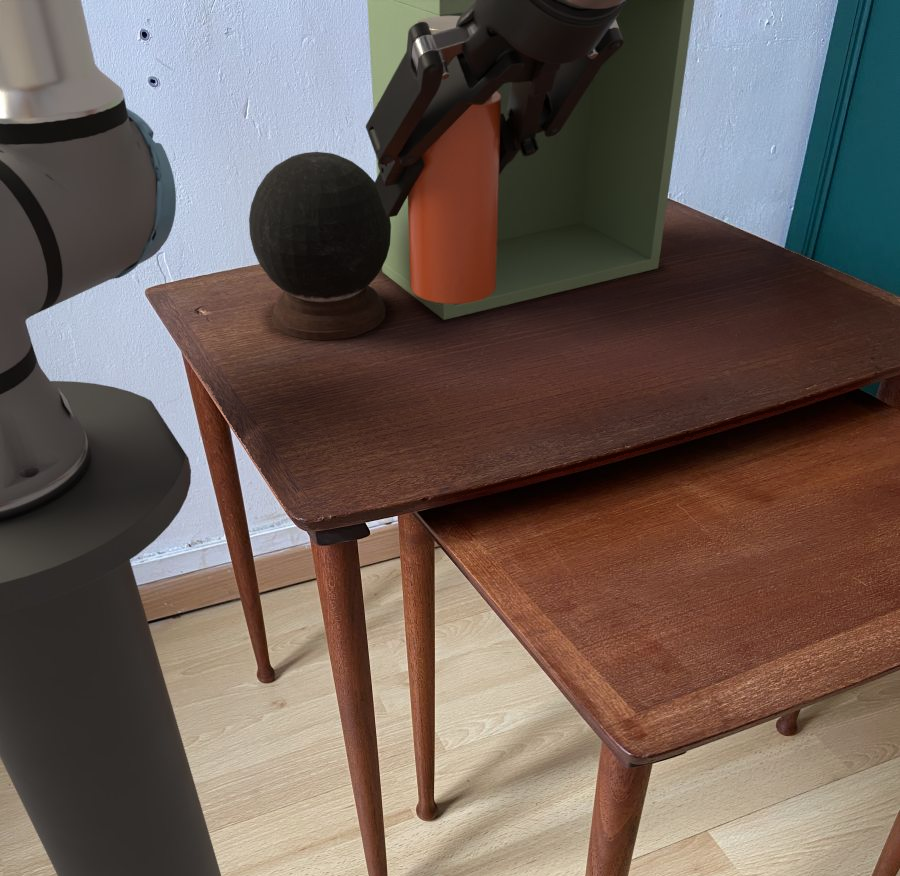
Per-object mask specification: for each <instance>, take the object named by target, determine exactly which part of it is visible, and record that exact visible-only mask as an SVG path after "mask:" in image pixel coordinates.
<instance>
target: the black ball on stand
mask: <svg viewBox="0 0 900 876" xmlns="http://www.w3.org/2000/svg"><path fill="white" fill-rule="evenodd" d="M250 204H251V205H250V210H249V215H248V216H249V217H248V225H249V238H250V241H251V246H252V250H253V253H254V256H255V257H256V260H257V261H258V264H259V265H260V267H261V268H262V270H263V271H264V272H265V274H266V275H267V276H268V278H269V279H270V280H271V282H273V283H274V284H275V285H276V286H277V287H278V288H279V289H281V290H282V292H281V293H280V294H279V295H278V296H277V298H276V300H275V302H274V304H273V305H272V306H271V310H270V313H271V318H272V319H271V320H272V324H273V325H274V327H275V328H276V329H277V330H279V331H280V332H281V333H283V334H286V335H288V336H291V337H294V338H298V339H304V340H313V341H333V340H342V339H347V338H352V337H356V336H359V335H363V334H365V333H367V332H370V331H372V330H373V329H375V328H377V327H378V326H379V325H380V324H381V323H382V322H384V319H385V317H386V304H385V301H384V300H383V298H382V297H381V296H380V295H379V293H378V292H377V290H376V289H374V288H373V287H372V286H369V285H370V284H371V283H372V282H373V281H375V279H376V277H377V276H378V275H379V273H380V272H381V270H382V266H383V264H384V262H385V260H386V258H387V255H388V251H389V247H390V238H391V222H390V217H387V215H386V212H385V209H384V207H383V204H382V201H381V198H380V196H379V193H378V190H377V188H376V185H375V181H374V179H373V178H372V177H371V176H370V174H369V173H368V172H366V171H365V170H364V169H363V168H362V167H360V166H359V165H358V164H357V163H355V162H353V160H350V159H348V158H345V157H343V156H341V155H339V154H335V153H333V152H332V153H331V152H325V151H324V152H323V151H310V152H303V153H299V154H295V155H292V156H290V157H288V158H286V159H285V160H283V161H282V162H281V161H280V162H279V163H278V164H276V165H275V166H274V167H273V168H272V169H270V171H268V173H266V175H265V176H264V178H263V179H262V181H260V183H259V185H258V187H257V188H256V190H255V194H254V196H253V199H252V201H251V203H250Z"/></svg>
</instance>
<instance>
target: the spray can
mask: <svg viewBox="0 0 900 876" xmlns="http://www.w3.org/2000/svg"><path fill="white" fill-rule="evenodd" d="M459 18H460V16H439V17H430V18H425V19H422V20H420V21H418V22H417V23H419V22H426V23H427V24H428V25H429V28H430V31H431V33H432V34H436V33H439V32H442V31H446V30H449V29H453V28H456V24H457V21H458V19H459ZM500 122H501V95H500V94H499V93H498V92H497V91H496V92H495V93H494V94H493V95H492V96H491V97H490V98H489V99H488V100H487V101H486V102H485V103H484V104H482V105H476V104H472V105H471V106H470V107H469V108H468V109H467V110H466V111H465V112H464V113H463V114H462V115H461V116H460V117H459V118H458V119H457V120H456V121H455V122H454V123H453V125H452V126H451V127H450V128H449V129H448V130H447V131H446V132H445V133H444V134H443V135H442V136H441V137H440V138H439V139H438V140H437V141H436V142H435V143H434V144H433V145H432V146H431V147H430V148H429V149H428V150H427V151H426V152H425V153H424V154H423V155H422V159H423V162H424V165H425V166H424V168H423V170H422V172H421V173H420V175H419V177H418V179H417V180H416V182H415V184H414V186H413V187H412V189H411V191H410V193H409V195H408V220H409V251H410V283H411V290H412V291H413V293H414V294H415V295H417V296H418V297H420V298H422V299H425V300H428V301H431V302H436V303H445V304H461V303H470V302H475V301H478V300H481V299H484V298H486V297H488V296H489V295H491V294H492V293H493V292H494V290H495V288H496V262H497V227H498V192H499V157H500Z"/></svg>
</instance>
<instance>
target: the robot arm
mask: <svg viewBox="0 0 900 876" xmlns="http://www.w3.org/2000/svg"><path fill="white" fill-rule="evenodd" d="M626 3H627V0H475V2H474V3H473V4H472V5H471V6H470V7H469V8H468V9H467V10H466V11H465V12H464V13H463V14H462V15H461V16H460V18H459V19H458V21H457V24H456V28H453V29H449V30H446V31H442V32H439V33H436V34H432V33H431V31H430V28H429V25H428V24H427V23H426V22H419V23H417V24H415V25H413V26H412V27H411V28H410V29H409V31H408V40H407V51H406V53H405V55H404V57H403V59H402V60H401V62H400V64H399V66H398V68H397V70H396V71H395V73H394V75H393V77H392V79H391V80H390V82H389V84H388V86H387V88H386V90H385V91H384V93H383V95H382V97H381V99H380V101H379V102H378V104H377V106H376V108H375V110H374V111H373V112H372V113H371V115H370V117H369V118H368V121H367V122H366V124H365V129H366V132H367V134H368V138H369V140H370V143H371V145H372V148H373V151H374V154H375V158H376V157H377V159H378V168H379V170H380V172H379V175H378V177H377V176H376V179H375V181H374V182H375V185H376V188H377V190H378V193H379V196H380V198H381V201H382V204H383V207H384V209H385V212H386V215H387V217H393V216H397V214H398V213H399V211H400V209H401V207H402V206H403V204H404V202H405V200H406V198H407V197H408V195H409V193H410V191H411V189H412V187H413V186H414V184H415V182H416V180H417V179H418V177H419V175H420V173H421V172H422V170H423V168H424V166H425V165H424V162H423V159H422V155H423V154H424V153H425V152H426V151H427V150H428V149H429V148H430V147H431V146H432V145H433V144H434V143H435V142H436V141H437V140H438V139H439V138H440V137H441V136H442V135H443V134H444V133H445V132H446V131H447V130H448V129H449V128H450V127H451V126H452V125H453V123H454V122H455V121H456V120H457V119H458V118H459V117H460V116H461V115H462V114H463V113H464V112H465V111H466V110H467V109H468V108H469V107H470V106H471V105H472V104H476V105H482V104H484V103H485V102H486V101H487V100H488V99H489V98H490V97H491V96H492V95H493V94H494V93H495V92H496V91H497V90H498V89H499V88H500V87H501V86H502V85H503V84H505V83H508V82H512V84H511V89H510V95H509V101H508V106H507V114H508V117H509V118H508V120H507V121H506V119H505V116H504V114H503V113H502V114H501V122H500V157H499V175H500V173H501V172H502V170H503V169H504V168H505V166H506V165H507V164H508V163H510V162H511V161H512V160H513V159H514V157H515V156H516V154H517V153H518V152H519V150H520V149H521V152H522V155H523V156H530V155H532V154H534V153H535V152H537V151H538V149H539V147H538V145H537V142H536V139H535V137H536V134H537V133H540V132H544V134H545V136H546V137H550V136H554V135H556V134H557V133H558V132H559V131H560V130H561V129H562V127H563V126H564V124H565V122H566V121H567V119H568V118H569V116H570V115H571V113H572V111H573V110H574V108H575V107H576V105H577V104H578V102H579V100H580V99H581V97H582V96H583V94H584V93H585V91H586V90H587V88H588V86H589V85H590V83H591V82H592V80H593V79H594V77H595V75H596V74H597V72H598V71H599V69H600V68H601V66H602V65H603V64H604V63H605V62H606V61H607V60H608V59H609V58H610V57H611V56H612V55H613V54H614V53H615V52H616V51H617V50H618V49H619V48H620V47H621V46H622V45H623V43H624V41H623V38H622V35H621V33H620V30H619V27H618V24H617V21H616V18H617V17H618V15H619V14H620V12H621V11H622V9H623V8H624V6H625V5H626ZM85 16H86V15H85V12H84V7H83V3H82V0H0V522H3V521H7V520H11V519H14V518H17V517H20V516H23V515H26V514H28V513H31V512H33V511H36V510H38V509H40V508H42V507H44V506H46V505H48V504H50V503H52V502H53V501H55V500H57V499H58V498H60V497H61V496H63V495H64V494H65V493H67V492H68V491H69V490H71V489H72V488H73V487H74V486H75V485H76V484H77V483H78V482H79V481H80V480H81V479H82V477H83V476H84V475H85V473H86V472H87V470H88V468H89V465H90V462H91V450H90V446H89V443H88V440H87V436H86V433H85V431H84V429H83V427H82V425H81V423H80V421H79V420H78V418H77V417H76V416H75V414H74V413H73V412H72V410H71V409H70V406H69V403H68V401H67V399H66V398H65V396H64V395H63V394H62V392H61V391H60V389H59V391H60V394H61V395H60V394H59V392H58V391H57V390H56V388H55V387H54V386H53V384H52V383H51V382H50V381H51V380H50V378H49V377H48V376H47V375H46V373H45V372H44V370H43V369H42V368H41V365H40V364H39V361H38V357H37V354H36V352H35V349H34V346H33V342H32V339H31V336H30V332H29V329H28V325H27V320H29V318H31V317H33V316H34V315H36V314H39V313H42V312H44V311H46V310H48V309H49V308H52V307H54V306H57V305H58V304H60V303H62V302H65V301H68V300H69V299H71V298H73V297H75V296H78V295H79V294H82V293H84V292H86V291H89V290H91V289H93V288H95V287H97V286H100V285H102V284H103V283H107V282H108V281H110V280H115V279H120V278H122V277H124V276H126V275H128V274H129V273H130V272H132V271H133V270H134V269H136V268H137V267H138V265H140V264H142V263H144V262H146V261H147V260H149V259H151V258H153V257H154V256H155V255H156V254H157V253H158V252H159V251H160V250H161V249H162V247H163V246H164V245H165V243H166V242H167V240H168V238H169V237H170V234H171V231H172V229H173V225H174V221H175V217H176V209H177V193H176V191H177V190H176V184H175V178H174V172H173V169H172V166H171V163H170V160H169V158H168V155H167V153H166V150H165V148H164V147H163V145H162V143H160V142H156V141H155V140H154V131H153V129H152V128H151V126H150V125H149V124H148V123H147V122H146V121H145V120H144V119H143V118H142V117H141V116H140V115H138V114H137V113H135V112H134V111H133V110H131V109H129V108H127V103H126V100H125V94H124V90H123V88H122V87H121V86H119V85H118V84H117V83H116V82H115V81H114V80H112V78H110V77H108V76H107V75H106V74H105V73H104V72H102V71H101V70H100V68H99V67H98V65H97V64H96V62H95V57H94V53H93V48H92V43H91V39H90V34H89V30H88V26H87V21H86V17H85ZM61 396H62V397H61Z"/></svg>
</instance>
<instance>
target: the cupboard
mask: <svg viewBox="0 0 900 876" xmlns="http://www.w3.org/2000/svg"><path fill="white" fill-rule="evenodd" d="M366 1H367V20H368V38H369V39H368V40H369V56H370V73H371V75H370V76H371V88H372V89H371V93H372V110H373V111H374V110H375V108H376V106H377V104H378V102H379V101H380V99H381V97H382V95H383V93H384V91H385V90H386V88H387V86H388V84H389V82H390V80H391V79H392V77H393V75H394V73H395V71H396V70H397V68H398V66H399V64H400V62H401V60H402V59H403V57H404V55H405V53H406V51H407V40H408V31H409V29H410V28H411V27H412V26H413V25H415V24H417V22H418V21H420V20H422V19H425V18H430V17H439V16H461V15H462V14H463V13H464V12H465V11H466V10H467V9H468V8H469V7H470V6H471V5H472V4H473V3H474V2H475V0H366ZM694 7H695V0H627V3H626V5H625V6H624V8H623V9H622V11H621V12H620V14H619V15H618V17H617V18H616V21H617V24H618V27H619V30H620V33H621V35H622V38H623V41H624V43H623V45H622V46H621V47H620V48H619V49H618V50H617V51H616V52H615V53H614V54H613V55H612V56H611V57H610V58H609V59H608V60H607V61H606V62H605V63H604V64H603V65H602V66H601V68H600V69H599V71H598V72H597V74H596V75H595V77H594V79H593V80H592V82H591V83H590V85H589V86H588V88H587V90H586V91H585V93H584V94H583V96H582V97H581V99H580V100H579V102H578V104H577V105H576V107H575V108H574V110H573V111H572V113H571V115H570V116H569V118H568V119H567V121H566V122H565V124H564V126H563V127H562V129H561V130H560V131H559V132H558V133H557V134H556V135H554V136H550V137H546V136H545V134H544V132H540V133H537V134H536V137H535V139H536V142H537V145H538V147H539V149H538V151H537V152H535V153H534V154H532V155H530V156H523V155H522V152H521V149H520V150H519V152H518V153H517V154H516V156H515V157H514V159H513V160H512V161H511V162H510V163H508V164H507V165H506V166H505V168H504V169H503V170H502V172H501V173H500V175H499V192H498V227H497V262H496V288H495V290H494V292H493V293H492V294H491V295H489V296H488V297H486V298H484V299H481V300H478V301H475V302H470V303H461V304H445V303H436V302H431V301H428V300H425V299H422V298H420V297H418V296H417V295H415V294H414V293H413V291H412V290H411V283H410V251H409V220H408V197H407V198H406V200H405V202H404V204H403V206H402V207H401V209H400V211H399V213H398V214H397V216H393V217H390V222H391V238H390V247H389V251H388V255H387V258H386V260H385V262H384V264H383V266H382V268H381V270H382V273H383V274H384V275H386V276H387V277H388V278H389V279H391V280H392V281H393V282H394V283H396V285H399V286H400V287H401V289H403V290H405V291H406V292H407V293H409V294H410V295H411V296H413V297H414V298H415V299H416V300H417V301H419V302H420V303H421V304H423V305H424V306H425V307H427V308H428V309H429V310H430V311H432V312H433V313H434V314H435V315H437V317H439V318H441V319H442V320H443V321H446V320H449V319H453V318H458V317H462V316H466V315H471V314H474V313H479V312H483V311H487V310H492V309H496V308H499V307H504V306H508V305H511V304H516V303H520V302H524V301H525V302H526V301H529V300H533V299H537V298H540V297H546V296H549V295H554V294H557V293H562V292H565V291H571V290H574V289H579V288H582V287H587V286H591V285H594V284H599V283H604V282H607V281H611V280H615V279H620V278H625V277H628V276H633V275H637V274H640V273H645V272H649V271H652V270H657V269H659V265H660V257H661V252H662V251H661V249H662V243H663V237H664V236H663V234H664V228H665V221H666V215H667V214H666V213H667V205H668V199H669V192H670V191H669V190H670V184H671V177H672V176H671V175H672V171H673V170H672V169H673V162H674V155H675V154H674V153H675V147H676V139H677V132H678V126H679V117H680V109H681V102H682V96H683V88H684V81H685V73H686V66H687V58H688V52H689V51H688V50H689V44H690V36H691V28H692V21H693V16H694V15H693V14H694ZM511 84H512V82H508V83H505V84H503V85H502V86H501V87H500V88H499V89H498V90H497V92H498V93H499V94H500V95H501V114H502V113H503V114H504V116H505V119H506V121H507V120H508V118H509V117H508V114H507V106H508V101H509V95H510V89H511ZM375 164H376V178H377V177H378V175H379V172H380V170H379V168H378V159H377V157H376V156H375Z"/></svg>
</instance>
